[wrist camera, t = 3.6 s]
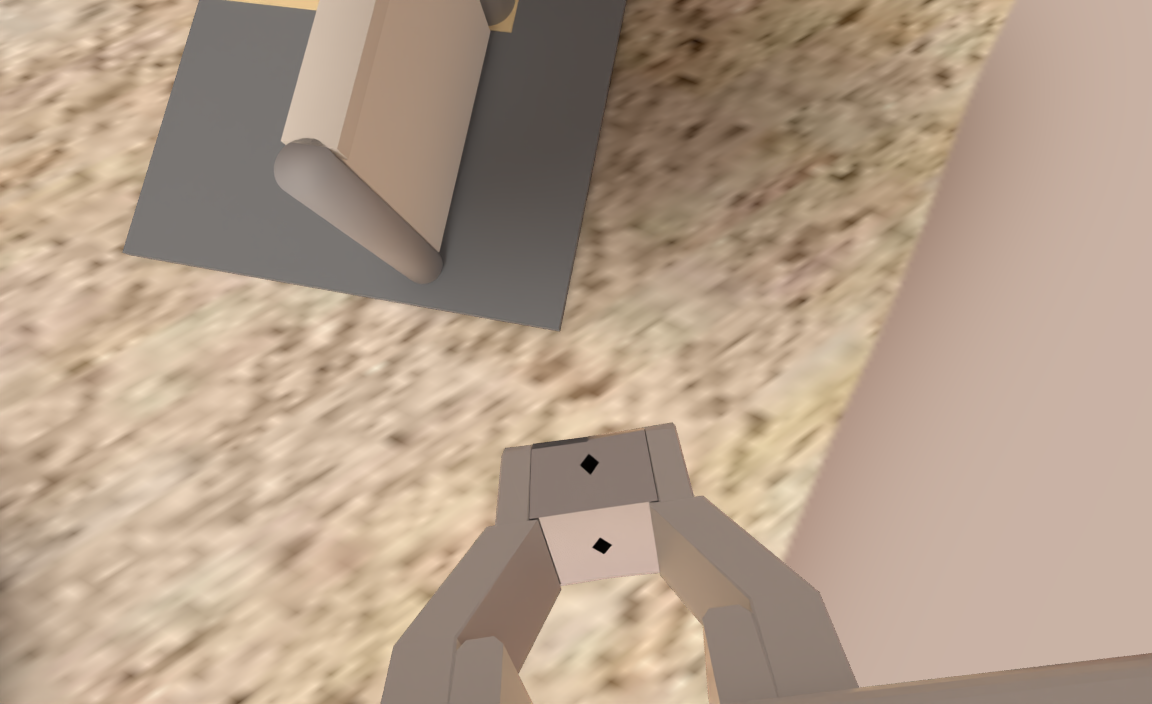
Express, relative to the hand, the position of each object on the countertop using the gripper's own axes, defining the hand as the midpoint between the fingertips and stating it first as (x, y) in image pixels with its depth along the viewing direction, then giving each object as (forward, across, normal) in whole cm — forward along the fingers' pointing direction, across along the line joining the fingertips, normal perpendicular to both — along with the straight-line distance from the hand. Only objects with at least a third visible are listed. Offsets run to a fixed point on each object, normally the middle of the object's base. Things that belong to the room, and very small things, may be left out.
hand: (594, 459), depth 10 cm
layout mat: (+23, +7, -5) cm, 25 cm away
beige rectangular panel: (+18, +5, -1) cm, 18 cm away
